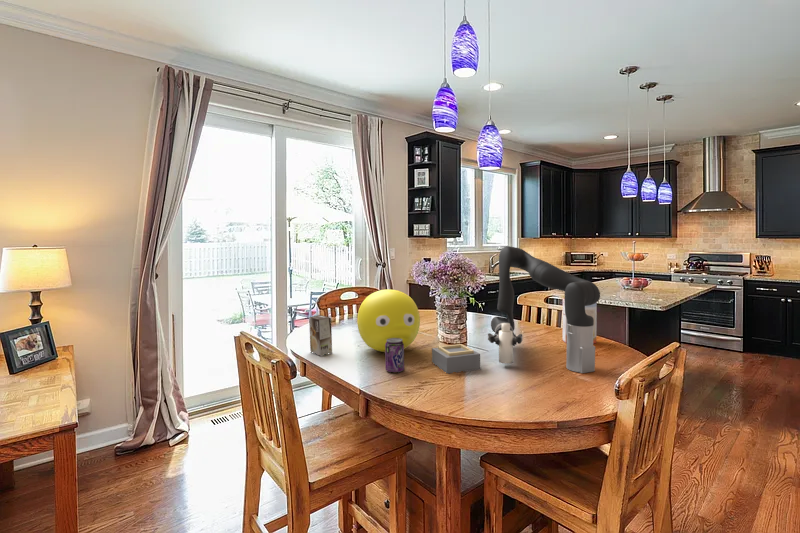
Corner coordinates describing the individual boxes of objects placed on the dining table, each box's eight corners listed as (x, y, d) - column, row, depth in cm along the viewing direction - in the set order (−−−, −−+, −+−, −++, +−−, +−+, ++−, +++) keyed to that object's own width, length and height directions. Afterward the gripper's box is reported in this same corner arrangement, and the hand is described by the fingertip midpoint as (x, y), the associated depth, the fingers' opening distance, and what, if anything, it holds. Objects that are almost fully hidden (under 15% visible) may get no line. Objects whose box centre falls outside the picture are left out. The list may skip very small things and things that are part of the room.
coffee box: (333, 353, 185) (332, 317, 184) (320, 356, 181) (319, 319, 180) (322, 349, 192) (321, 314, 191) (309, 352, 188) (308, 316, 187)
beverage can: (388, 374, 157) (387, 342, 156) (383, 368, 163) (383, 338, 162) (406, 372, 158) (406, 341, 158) (401, 367, 165) (401, 337, 164)
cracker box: (592, 340, 201) (592, 297, 200) (596, 344, 195) (597, 299, 194) (561, 340, 203) (562, 297, 201) (565, 343, 197) (566, 299, 195)
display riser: (480, 369, 161) (480, 351, 161) (446, 373, 157) (446, 355, 156) (463, 359, 174) (463, 342, 174) (432, 362, 170) (431, 345, 170)
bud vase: (515, 362, 163) (515, 324, 162) (503, 364, 161) (503, 325, 160) (507, 359, 168) (507, 321, 167) (496, 360, 166) (496, 322, 165)
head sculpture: (365, 363, 171) (363, 295, 169) (353, 345, 198) (351, 287, 196) (429, 356, 179) (428, 292, 177) (409, 341, 206) (408, 284, 204)
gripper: (486, 323, 179) (486, 332, 162) (521, 324, 176) (525, 333, 159) (486, 341, 179) (487, 352, 163) (521, 342, 177) (525, 353, 160)
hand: (506, 343), depth 161 cm, fingers closed on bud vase, 5 cm apart
